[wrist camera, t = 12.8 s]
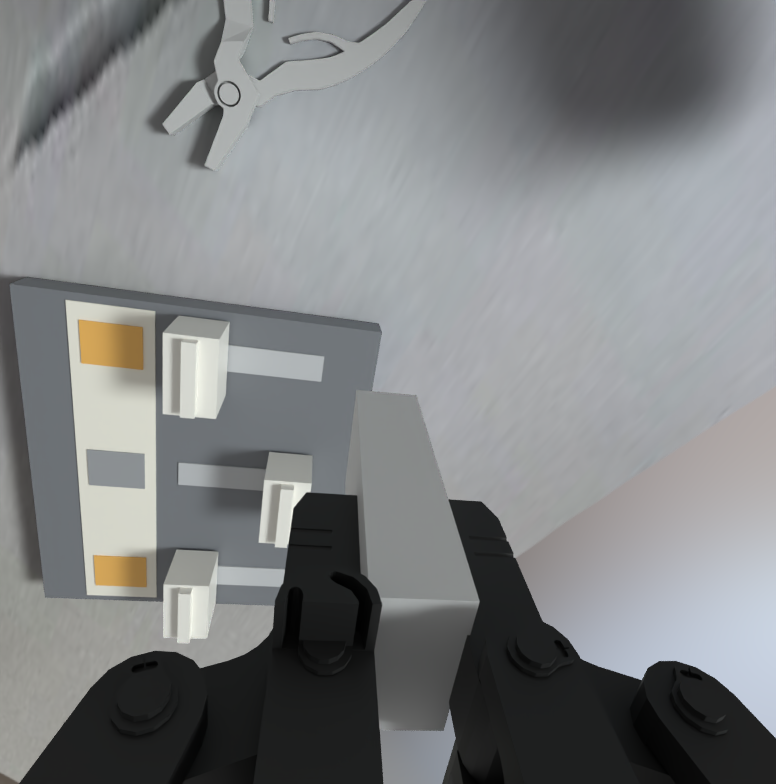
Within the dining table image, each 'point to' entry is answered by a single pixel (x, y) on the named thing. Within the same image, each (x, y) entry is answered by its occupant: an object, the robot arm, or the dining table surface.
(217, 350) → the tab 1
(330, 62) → the pliers
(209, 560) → the white plastic block
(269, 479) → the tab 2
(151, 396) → the switch bank
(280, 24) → the dining table surface
